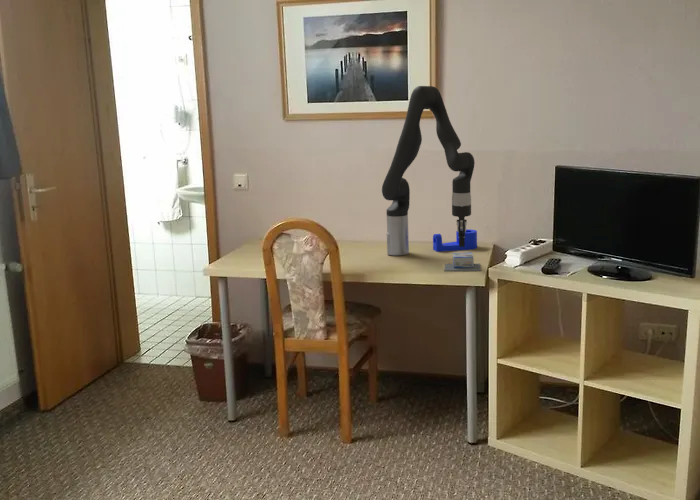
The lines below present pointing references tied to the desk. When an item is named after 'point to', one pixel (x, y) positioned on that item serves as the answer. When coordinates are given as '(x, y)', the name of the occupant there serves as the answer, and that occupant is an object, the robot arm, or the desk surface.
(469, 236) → the bracket
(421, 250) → the desk surface
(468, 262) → the medicine box
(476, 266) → the mat
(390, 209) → the robot arm
